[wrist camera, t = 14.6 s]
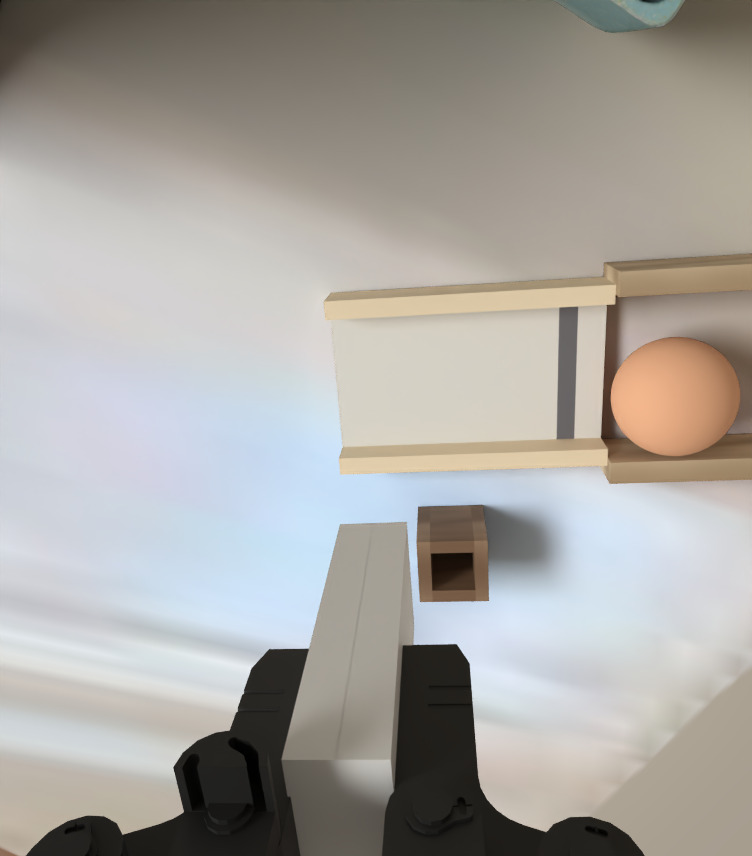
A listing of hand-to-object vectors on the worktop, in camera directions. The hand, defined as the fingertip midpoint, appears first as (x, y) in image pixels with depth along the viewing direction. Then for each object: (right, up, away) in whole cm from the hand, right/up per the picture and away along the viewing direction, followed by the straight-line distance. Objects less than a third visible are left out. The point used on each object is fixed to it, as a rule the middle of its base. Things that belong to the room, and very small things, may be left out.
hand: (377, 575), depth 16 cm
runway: (+4, +6, +16) cm, 18 cm away
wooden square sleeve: (+4, -2, +19) cm, 20 cm away
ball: (+12, +5, +13) cm, 19 cm away
